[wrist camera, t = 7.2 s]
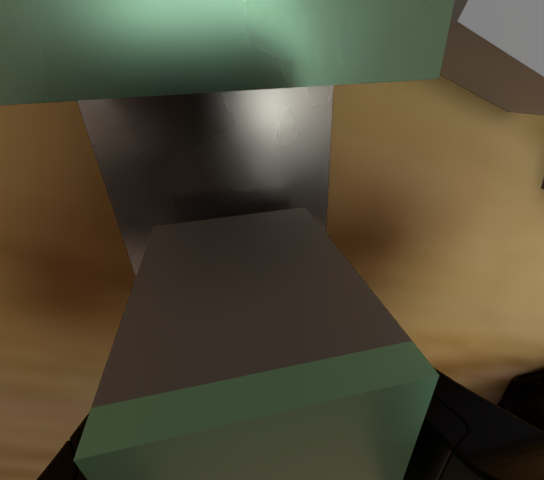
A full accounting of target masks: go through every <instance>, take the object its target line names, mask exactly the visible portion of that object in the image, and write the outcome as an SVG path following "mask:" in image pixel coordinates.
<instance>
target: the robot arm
mask: <svg viewBox="0 0 544 480" xmlns="http://www.w3.org/2000/svg"><path fill="white" fill-rule="evenodd" d="M433 368H434V367H433ZM434 369H435V368H434ZM435 370H436V372H437V373H438V374H439V378H438V381H437V384H436V386H435V389H434V392H433V395H432V398H431V401H430V403H429V406H428V409H427V412H426V415H425V418H424V421H423V423H422V426H421V429H420V432H419V435H418V438H417V440H416V443H415V446H414V449H413V452H412V455H411V457H410V460H409V463H408V466H407V469H406V472H405V475H404V477H403V480H544V372H541V373H537V374H533V375H528V376H524V377H521V378H518V379H516V380H515V381H514V382H513V384H512V386H511V388H510V389H509V391H508V393H507V395H506V397H505V398H504V400H503V402H502V404H501V406H500V407H498V406H497V405H495V404H493V403H491V402H490V401H488V400H486V399H484V398H483V397H481V396H479V395H477V394H476V393H474V392H472V391H471V390H469V389H467V388H466V387H464V386H462V385H461V384H459V383H457V382H456V381H454V380H452V379H451V378H449V377H448V376H446V375H445V374H443V373H442V372H440V371H438V370H437V369H435ZM89 413H90V412H89ZM88 416H89V414H88V415H87V416H86V417H85V419H84V420H83V421H82V423H81V424H80V425H79V427H78V428H77V429H76V430H75V432H74V433H73V434H72V436H71V437H70V440H69V441H67V442H66V443H65V444H64V446H63V447H62V448H61V450H60V451H59V452H58V454H57V455H56V456H55V457H54V459H53V460H52V461H51V462H50V464H49V465H48V466H47V467H46V469H45V470H44V471H43V472H42V474H41V475H40V476H39V477H38V479H37V480H87V478H86V477H85V476H84V474H83V473H82V472H81V470H80V469H79V468H78V466H77V465H76V463H75V462H74V461H73V460H74V457H75V454H76V451H77V448H78V445H79V442H80V439H81V437H82V434H83V431H84V428H85V425H86V422H87V419H88Z"/></svg>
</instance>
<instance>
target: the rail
mask: <svg viewBox="0 0 544 480" xmlns="http://www.w3.org/2000/svg"><path fill="white" fill-rule="evenodd" d="M454 1H455V0H0V105H13V104H30V103H46V102H63V101H77V102H78V105H79V108H80V111H81V114H82V117H83V120H84V123H85V126H86V129H87V132H88V135H89V138H90V141H91V144H92V147H93V150H94V153H95V156H96V159H97V162H98V165H99V168H100V171H101V174H102V177H103V180H104V183H105V186H106V189H107V192H108V195H109V198H110V201H111V204H112V207H113V210H114V213H115V216H116V219H117V222H118V225H119V228H120V231H121V234H122V237H123V240H124V243H125V246H126V249H127V252H128V255H129V258H130V261H131V264H132V267H133V270H134V273H135V276H137V273H138V270H139V267H140V264H141V261H142V258H143V255H144V252H145V249H146V246H147V243H148V241H149V238H150V235H151V232H152V229H153V226H160V225H168V224H175V223H183V222H191V221H199V220H207V219H215V218H223V217H231V216H239V215H247V214H255V213H263V212H271V211H279V210H287V209H295V208H303V207H305V208H306V209H307V210H308V211H309V213H310V214H311V215H312V216H313V218H314V219H315V220H316V221H317V223H318V224H319V225H320V226H321V228H322V229H323V230H324V231H325V233H326V227H327V207H328V186H329V166H330V145H331V125H332V104H333V85H344V84H361V83H377V82H394V81H411V80H427V79H439V76H440V71H441V66H442V61H443V56H444V51H445V46H446V41H447V36H448V31H449V26H450V21H451V16H452V11H453V6H454Z"/></svg>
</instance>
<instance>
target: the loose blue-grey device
mask: <svg viewBox="0 0 544 480" xmlns="http://www.w3.org/2000/svg"><path fill="white" fill-rule="evenodd" d="M440 75H441V76H443V77H445V78H447V79H449V80H450V81H452V82H454V83H456V84H458V85H460V86H461V87H463V88H465V89H467V90H469V91H471V92H473V93H474V94H476V95H478V96H480V97H482V98H484V99H485V100H487V101H489V102H491V103H493V104H495V105H496V106H498V107H500V108H502V109H504V110H506V111H507V112H515V113H524V114H533V115H543V116H544V0H455V1H454V6H453V11H452V16H451V21H450V26H449V31H448V36H447V41H446V46H445V51H444V56H443V61H442V66H441V71H440Z"/></svg>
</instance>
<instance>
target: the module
mask: <svg viewBox="0 0 544 480" xmlns="http://www.w3.org/2000/svg"><path fill="white" fill-rule="evenodd" d="M438 378H439V374H438V373H437V372H436V370H435V369H434V368H433V367H432V365H431V364H430V363H429V362H428V360H427V359H426V358H425V357H424V355H423V354H422V353H421V352H420V350H419V349H418V348H417V347H416V345H415V344H414V343H413V341H412V340H411V339H410V338H409V336H408V335H407V334H406V333H405V331H404V330H403V329H402V328H401V326H400V325H399V324H398V323H397V321H396V320H395V319H394V318H393V316H392V315H391V314H390V313H389V311H388V310H387V309H386V308H385V306H384V305H383V304H382V303H381V301H380V300H379V299H378V298H377V296H376V295H375V294H374V293H373V291H372V290H371V289H370V288H369V286H368V285H367V284H366V283H365V281H364V280H363V279H362V278H361V276H360V275H359V274H358V273H357V271H356V270H355V269H354V268H353V266H352V265H351V264H350V263H349V261H348V260H347V259H346V258H345V256H344V255H343V254H342V253H341V251H340V250H339V249H338V248H337V246H336V245H335V244H334V243H333V241H332V240H331V239H330V238H329V236H328V235H327V234H326V233H325V231H324V230H323V229H322V228H321V226H320V225H319V224H318V223H317V221H316V220H315V219H314V218H313V216H312V215H311V214H310V213H309V211H308V210H307V209H306V208H305V207H303V208H295V209H287V210H279V211H271V212H263V213H255V214H247V215H239V216H231V217H223V218H215V219H207V220H199V221H191V222H183V223H175V224H168V225H160V226H153V229H152V232H151V235H150V238H149V241H148V243H147V246H146V249H145V252H144V255H143V258H142V261H141V264H140V267H139V270H138V273H137V276H136V279H135V281H134V284H133V287H132V290H131V293H130V296H129V299H128V302H127V305H126V308H125V311H124V314H123V317H122V320H121V322H120V325H119V328H118V331H117V334H116V337H115V340H114V343H113V346H112V349H111V352H110V355H109V358H108V360H107V363H106V366H105V369H104V372H103V375H102V378H101V381H100V384H99V387H98V390H97V393H96V396H95V398H94V401H93V404H92V407H91V410H90V413H89V416H88V419H87V422H86V425H85V428H84V431H83V434H82V437H81V439H80V442H79V445H78V448H77V451H76V454H75V457H74V460H73V461H74V462H75V463H76V465H77V466H78V468H79V469H80V470H81V472H82V473H83V474H84V476H85V477H86V478H87V480H403V477H404V475H405V472H406V469H407V466H408V463H409V460H410V457H411V455H412V452H413V449H414V446H415V443H416V440H417V438H418V435H419V432H420V429H421V426H422V423H423V421H424V418H425V415H426V412H427V409H428V406H429V403H430V401H431V398H432V395H433V392H434V389H435V386H436V384H437V381H438Z"/></svg>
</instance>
